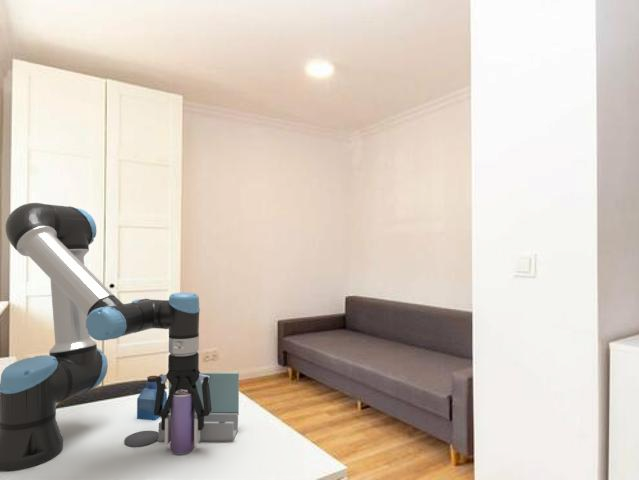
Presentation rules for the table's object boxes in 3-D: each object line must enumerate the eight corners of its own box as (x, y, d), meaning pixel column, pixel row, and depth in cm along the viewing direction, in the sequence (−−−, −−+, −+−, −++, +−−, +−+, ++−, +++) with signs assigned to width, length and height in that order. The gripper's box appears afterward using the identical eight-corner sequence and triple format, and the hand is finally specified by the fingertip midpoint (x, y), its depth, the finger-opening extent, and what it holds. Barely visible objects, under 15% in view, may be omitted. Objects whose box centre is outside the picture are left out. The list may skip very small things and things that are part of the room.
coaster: (117, 447, 107) (117, 445, 107) (133, 431, 116) (133, 430, 116) (152, 447, 107) (152, 445, 107) (165, 432, 116) (165, 430, 116)
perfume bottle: (166, 412, 130) (167, 374, 130) (155, 420, 124) (155, 380, 124) (148, 411, 131) (149, 373, 131) (136, 419, 125) (137, 379, 125)
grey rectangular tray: (158, 441, 110) (158, 422, 110) (168, 430, 117) (168, 411, 117) (232, 442, 110) (232, 422, 110) (237, 430, 117) (238, 412, 117)
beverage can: (187, 457, 102) (187, 396, 102) (165, 454, 103) (166, 394, 103) (198, 445, 107) (199, 388, 108) (178, 443, 109) (179, 387, 109)
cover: (168, 373, 117) (170, 372, 118) (168, 415, 117) (169, 414, 118) (238, 373, 117) (239, 372, 118) (238, 415, 117) (238, 414, 118)
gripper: (139, 356, 102) (138, 449, 101) (218, 356, 102) (217, 449, 101) (151, 349, 110) (150, 435, 109) (225, 349, 110) (224, 435, 109)
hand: (182, 442), depth 105 cm, fingers open, 7 cm apart
